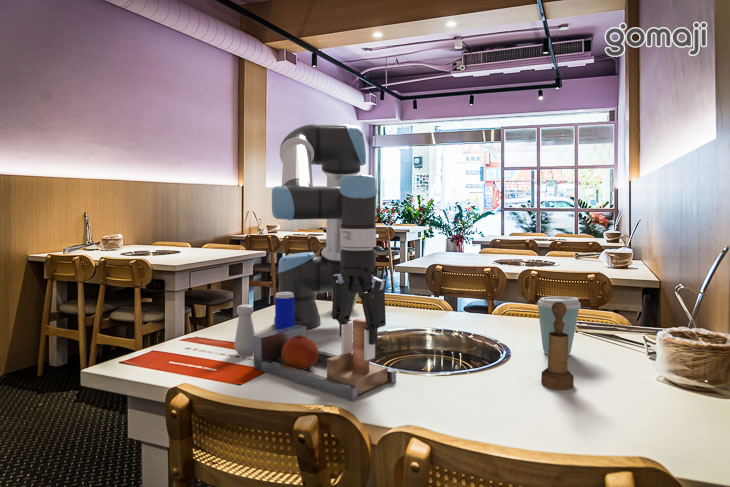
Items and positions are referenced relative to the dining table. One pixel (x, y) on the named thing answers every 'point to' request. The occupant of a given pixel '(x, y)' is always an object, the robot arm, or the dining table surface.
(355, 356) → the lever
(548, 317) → the disposable coffee cup
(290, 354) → the fruit
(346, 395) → the press base
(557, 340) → the mortar and pestle
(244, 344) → the salt shaker
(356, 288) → the robot arm
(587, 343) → the dining table surface
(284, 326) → the beverage can
